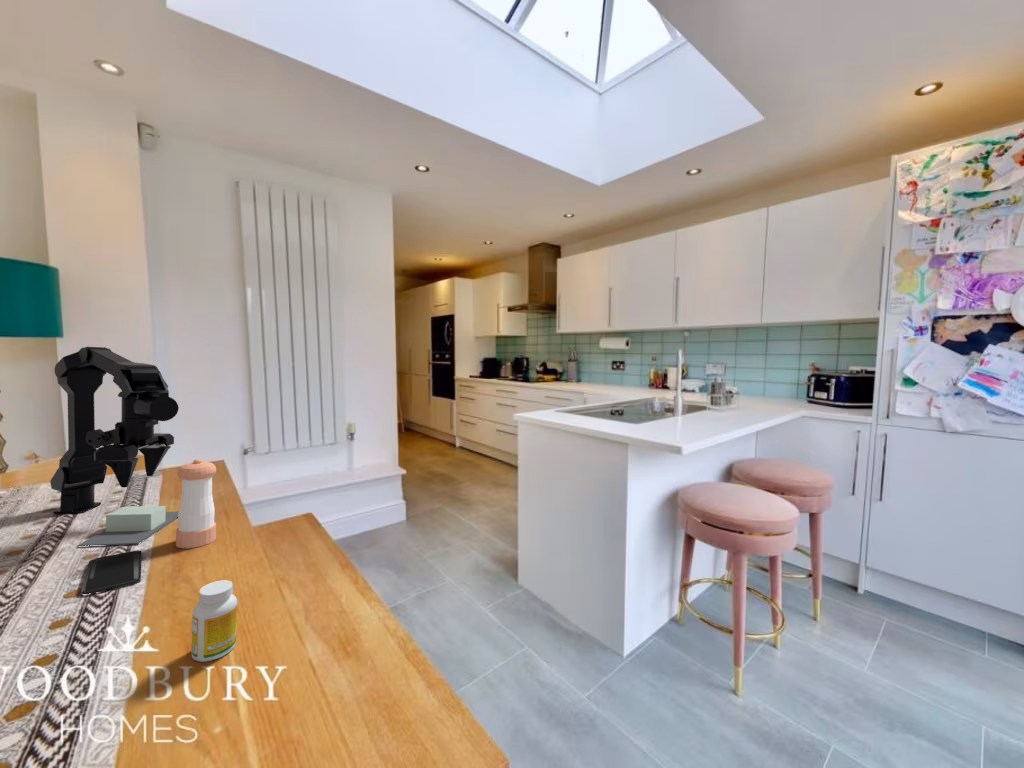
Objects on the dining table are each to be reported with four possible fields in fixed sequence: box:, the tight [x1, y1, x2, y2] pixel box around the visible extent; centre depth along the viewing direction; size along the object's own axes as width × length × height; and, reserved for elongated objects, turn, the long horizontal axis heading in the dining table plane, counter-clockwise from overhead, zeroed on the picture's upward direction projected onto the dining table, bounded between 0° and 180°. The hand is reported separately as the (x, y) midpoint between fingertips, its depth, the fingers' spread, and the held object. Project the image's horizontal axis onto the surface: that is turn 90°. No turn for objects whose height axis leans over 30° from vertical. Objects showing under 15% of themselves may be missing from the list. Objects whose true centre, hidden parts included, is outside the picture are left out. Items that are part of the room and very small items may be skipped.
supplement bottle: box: [190, 579, 238, 663], centre depth 60 cm, size 5×5×10 cm
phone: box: [80, 550, 143, 594], centre depth 78 cm, size 8×1×15 cm
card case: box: [105, 505, 167, 532], centre depth 98 cm, size 9×6×4 cm, turn 102°
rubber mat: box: [77, 510, 179, 546], centre depth 98 cm, size 19×11×1 cm, turn 14°
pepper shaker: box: [175, 458, 217, 549], centre depth 92 cm, size 7×7×19 cm
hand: (137, 481), depth 97 cm, fingers open, 9 cm apart
